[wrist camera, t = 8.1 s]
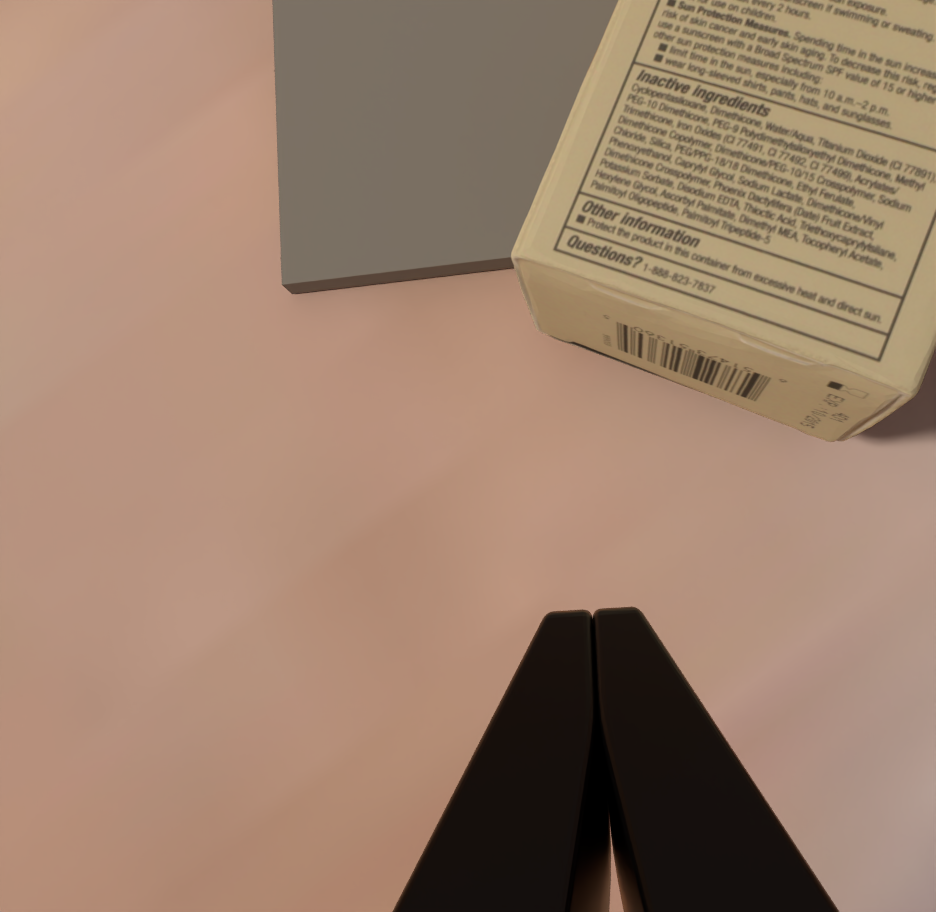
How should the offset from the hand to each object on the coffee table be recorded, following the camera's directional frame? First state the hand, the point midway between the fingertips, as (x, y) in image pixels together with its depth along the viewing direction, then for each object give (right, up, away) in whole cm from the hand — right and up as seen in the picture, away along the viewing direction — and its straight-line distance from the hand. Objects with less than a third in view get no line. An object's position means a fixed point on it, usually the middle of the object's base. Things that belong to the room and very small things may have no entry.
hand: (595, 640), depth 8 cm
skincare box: (+2, +3, +6) cm, 7 cm away
